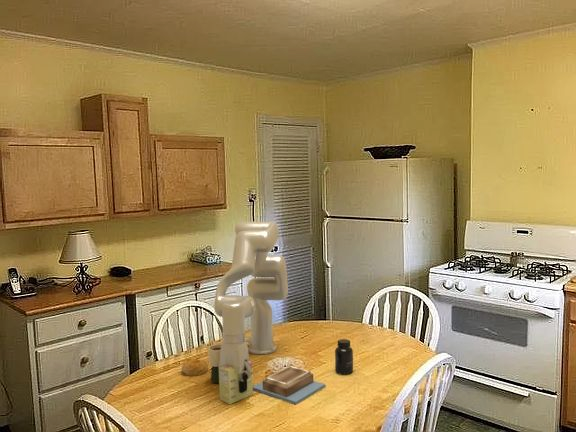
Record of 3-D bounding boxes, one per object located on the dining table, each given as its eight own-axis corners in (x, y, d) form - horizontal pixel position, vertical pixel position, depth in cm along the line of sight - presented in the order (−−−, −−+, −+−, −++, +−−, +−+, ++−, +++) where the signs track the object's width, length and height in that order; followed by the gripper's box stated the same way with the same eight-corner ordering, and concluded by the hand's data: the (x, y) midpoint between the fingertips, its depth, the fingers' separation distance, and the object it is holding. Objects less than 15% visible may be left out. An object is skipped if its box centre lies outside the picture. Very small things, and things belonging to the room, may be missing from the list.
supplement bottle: (352, 375, 187) (352, 344, 186) (334, 374, 188) (333, 343, 188) (353, 368, 194) (353, 338, 193) (336, 367, 195) (335, 337, 194)
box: (243, 390, 177) (241, 357, 176) (253, 394, 173) (252, 361, 172) (219, 399, 170) (217, 366, 169) (229, 405, 166) (228, 370, 165)
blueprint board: (251, 389, 177) (251, 386, 177) (282, 374, 190) (282, 371, 190) (296, 404, 165) (295, 401, 165) (325, 386, 178) (325, 384, 178)
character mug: (234, 383, 183) (232, 349, 182) (216, 388, 179) (214, 353, 178) (222, 374, 192) (220, 341, 191) (204, 378, 188) (203, 344, 187)
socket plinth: (262, 389, 175) (262, 378, 175) (289, 375, 187) (289, 364, 186) (287, 397, 168) (286, 385, 168) (313, 382, 180) (313, 371, 180)
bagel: (214, 370, 197) (214, 358, 196) (192, 379, 188) (191, 367, 188) (199, 364, 203) (198, 353, 203) (176, 373, 195) (175, 361, 195)
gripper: (208, 336, 172) (211, 386, 174) (245, 345, 161) (247, 399, 163) (224, 330, 178) (226, 379, 180) (260, 339, 167) (262, 391, 169)
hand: (236, 388), depth 171 cm, fingers closed on box, 6 cm apart
